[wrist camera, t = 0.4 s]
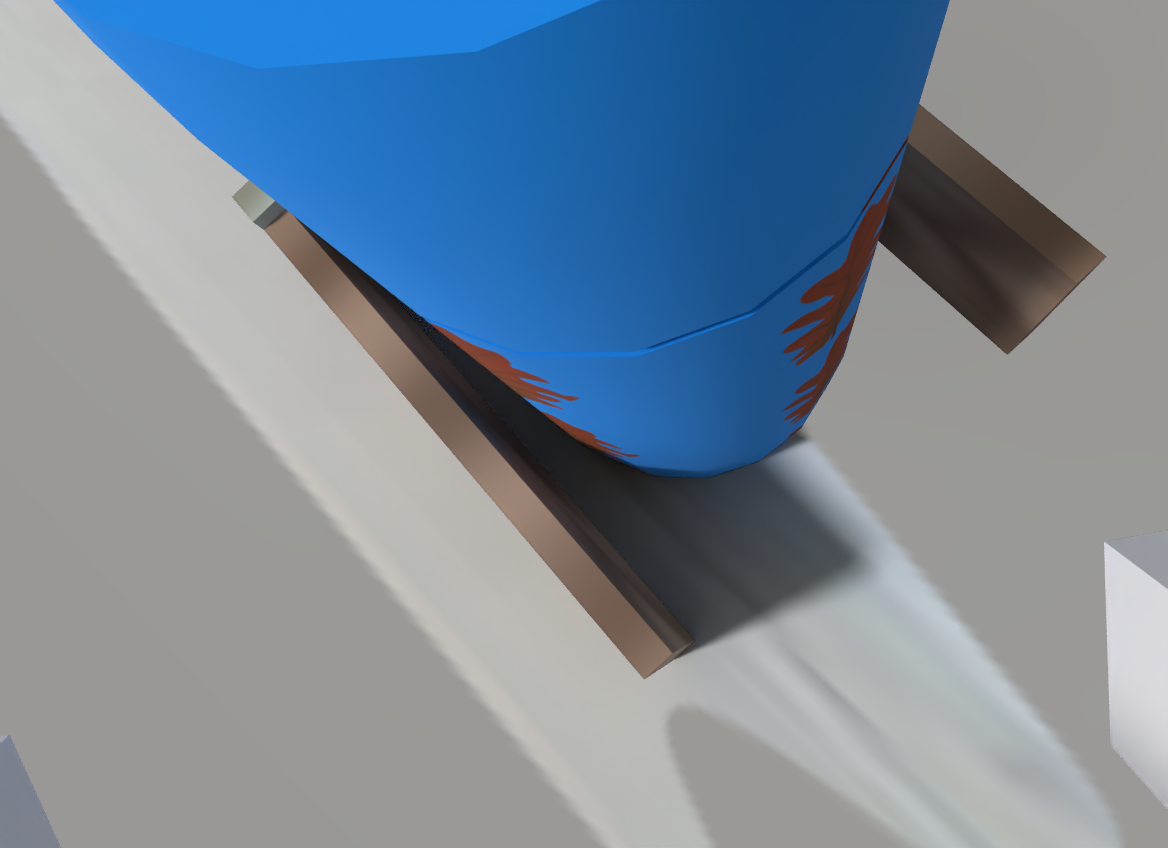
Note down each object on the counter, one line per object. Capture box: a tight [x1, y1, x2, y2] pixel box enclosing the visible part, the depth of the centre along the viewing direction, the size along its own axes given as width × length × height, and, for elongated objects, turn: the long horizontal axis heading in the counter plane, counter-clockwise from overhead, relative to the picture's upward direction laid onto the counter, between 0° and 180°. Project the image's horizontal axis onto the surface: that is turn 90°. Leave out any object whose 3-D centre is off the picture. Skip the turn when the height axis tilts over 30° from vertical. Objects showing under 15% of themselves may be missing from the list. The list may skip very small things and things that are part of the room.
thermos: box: [54, 0, 949, 478], centre depth 20 cm, size 11×11×25 cm
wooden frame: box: [232, 104, 1106, 679], centre depth 29 cm, size 19×16×8 cm
